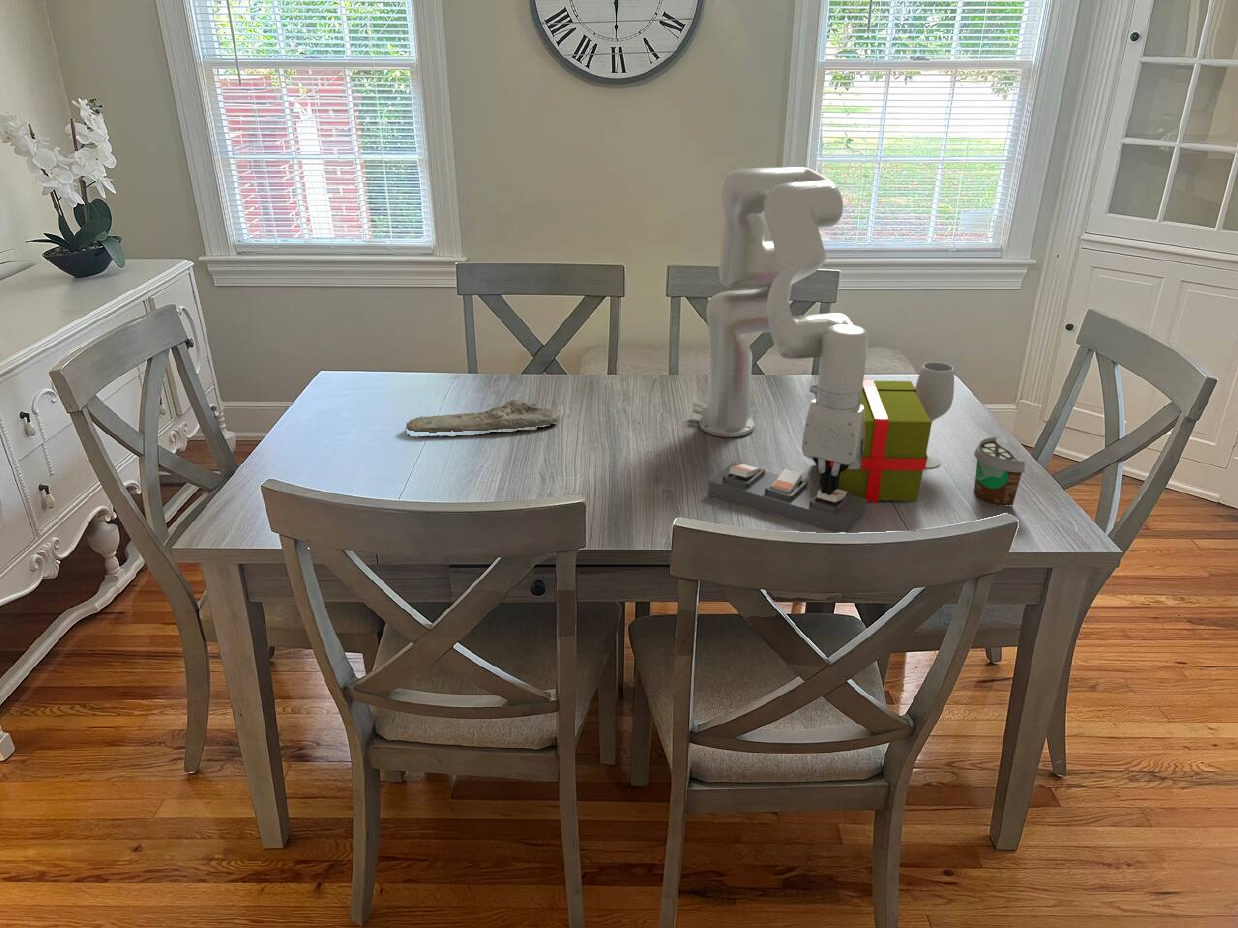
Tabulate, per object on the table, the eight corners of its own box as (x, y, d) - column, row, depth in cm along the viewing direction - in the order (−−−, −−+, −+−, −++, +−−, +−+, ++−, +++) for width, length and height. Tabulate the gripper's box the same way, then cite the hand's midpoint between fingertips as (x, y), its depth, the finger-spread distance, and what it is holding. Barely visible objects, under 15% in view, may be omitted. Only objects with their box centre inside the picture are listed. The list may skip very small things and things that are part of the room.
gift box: (912, 519, 171) (885, 456, 192) (952, 425, 160) (919, 370, 182) (809, 500, 170) (793, 439, 191) (842, 405, 159) (822, 351, 181)
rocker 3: (816, 497, 162) (818, 490, 161) (827, 492, 166) (828, 486, 166) (835, 502, 160) (836, 495, 160) (845, 497, 164) (847, 490, 164)
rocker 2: (771, 490, 167) (771, 485, 166) (784, 473, 171) (784, 468, 170) (789, 495, 165) (789, 490, 164) (802, 478, 169) (801, 472, 168)
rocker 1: (729, 472, 171) (730, 466, 171) (741, 469, 175) (743, 463, 175) (746, 477, 169) (747, 470, 169) (758, 474, 174) (759, 467, 173)
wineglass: (922, 471, 182) (938, 375, 173) (896, 457, 188) (910, 364, 179) (949, 464, 185) (966, 369, 176) (922, 450, 191) (937, 358, 182)
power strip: (708, 494, 173) (709, 476, 171) (732, 475, 180) (733, 458, 179) (845, 534, 159) (847, 515, 157) (864, 512, 166) (867, 493, 164)
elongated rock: (408, 431, 206) (407, 450, 197) (404, 410, 203) (403, 429, 195) (557, 412, 211) (562, 431, 202) (555, 392, 208) (560, 410, 199)
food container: (956, 482, 178) (965, 436, 173) (986, 481, 178) (995, 435, 174) (984, 511, 167) (994, 463, 162) (1016, 510, 167) (1026, 462, 163)
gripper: (789, 394, 154) (781, 489, 161) (873, 412, 146) (860, 510, 154) (807, 382, 159) (798, 474, 167) (888, 399, 152) (875, 494, 159)
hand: (828, 491), depth 160 cm, fingers closed
